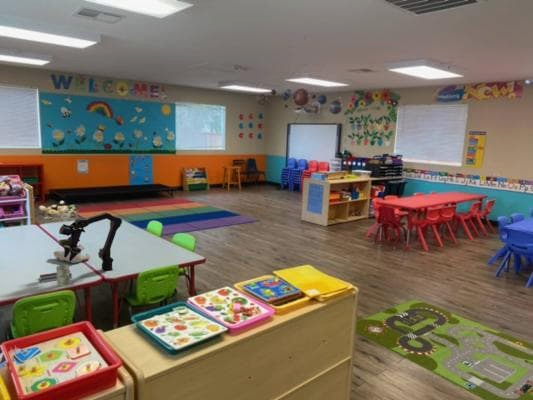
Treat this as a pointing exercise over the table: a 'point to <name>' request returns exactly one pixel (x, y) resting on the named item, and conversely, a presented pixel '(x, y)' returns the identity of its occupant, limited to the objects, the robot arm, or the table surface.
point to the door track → (51, 277)
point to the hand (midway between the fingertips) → (67, 259)
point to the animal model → (76, 259)
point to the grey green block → (63, 275)
